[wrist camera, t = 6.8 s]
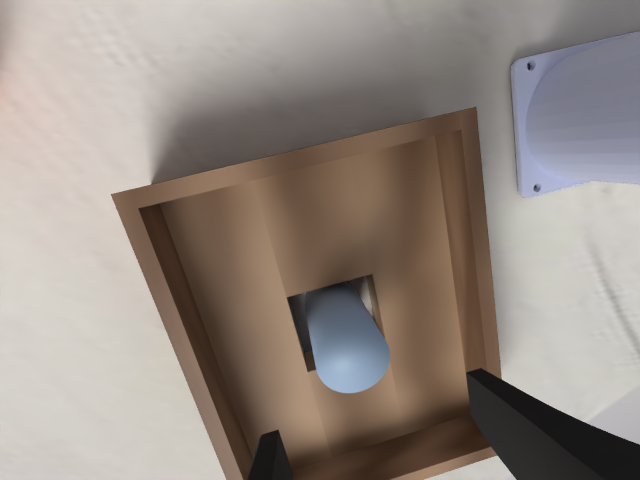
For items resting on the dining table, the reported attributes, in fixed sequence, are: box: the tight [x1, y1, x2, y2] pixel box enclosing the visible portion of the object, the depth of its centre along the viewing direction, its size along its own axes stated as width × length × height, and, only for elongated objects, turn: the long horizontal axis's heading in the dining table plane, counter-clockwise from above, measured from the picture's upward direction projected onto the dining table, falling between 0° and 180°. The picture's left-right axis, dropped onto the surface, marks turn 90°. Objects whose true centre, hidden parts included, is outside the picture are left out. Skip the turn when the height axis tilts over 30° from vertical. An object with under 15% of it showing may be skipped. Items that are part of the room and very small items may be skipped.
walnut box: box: [111, 107, 502, 480], centre depth 19 cm, size 16×20×4 cm
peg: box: [304, 281, 390, 393], centre depth 18 cm, size 4×4×6 cm
